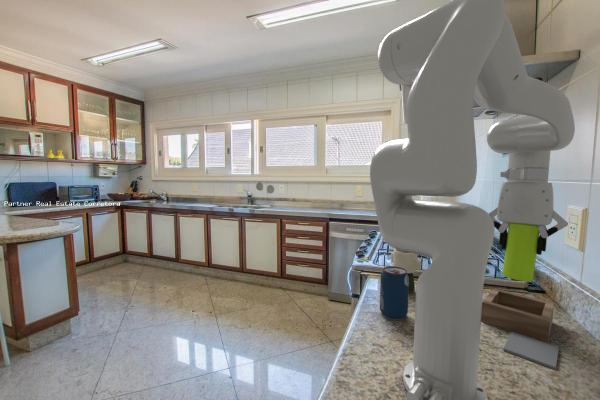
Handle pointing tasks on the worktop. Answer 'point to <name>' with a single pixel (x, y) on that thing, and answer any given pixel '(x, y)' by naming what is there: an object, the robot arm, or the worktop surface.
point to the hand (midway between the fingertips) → (521, 250)
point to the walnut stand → (518, 314)
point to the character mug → (406, 264)
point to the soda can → (394, 293)
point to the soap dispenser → (521, 252)
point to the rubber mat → (532, 349)
